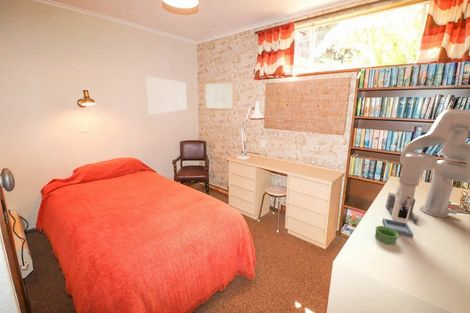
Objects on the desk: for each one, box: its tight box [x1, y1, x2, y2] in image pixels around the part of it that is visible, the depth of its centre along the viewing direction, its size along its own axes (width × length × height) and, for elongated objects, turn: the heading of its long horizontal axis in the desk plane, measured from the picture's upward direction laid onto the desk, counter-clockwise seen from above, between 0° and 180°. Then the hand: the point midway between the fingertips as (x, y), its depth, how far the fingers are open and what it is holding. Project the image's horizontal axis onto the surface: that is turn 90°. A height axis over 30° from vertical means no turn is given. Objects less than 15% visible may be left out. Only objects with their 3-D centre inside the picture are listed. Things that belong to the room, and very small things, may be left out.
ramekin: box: [374, 225, 400, 245], centre depth 103 cm, size 9×9×4 cm
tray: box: [382, 217, 414, 239], centre depth 112 cm, size 11×11×2 cm
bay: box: [385, 192, 418, 224], centre depth 127 cm, size 12×16×9 cm
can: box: [391, 198, 411, 223], centre depth 110 cm, size 6×6×12 cm
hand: (400, 214), depth 111 cm, fingers closed on can, 6 cm apart
